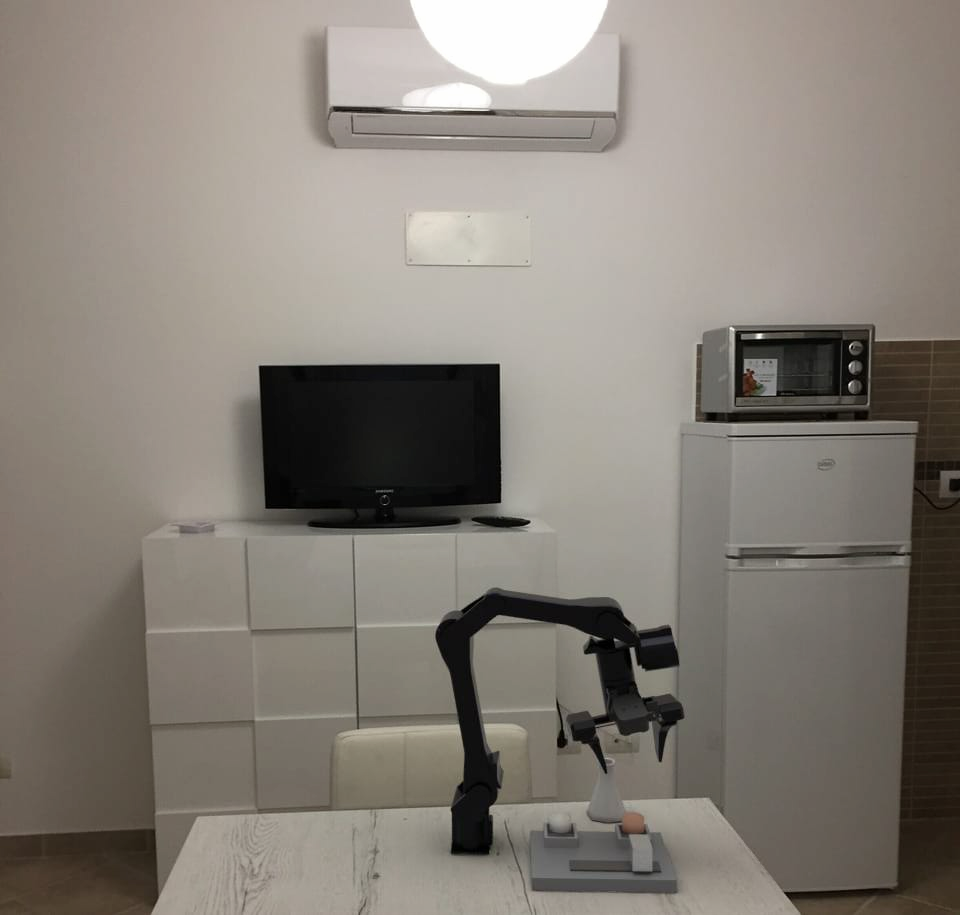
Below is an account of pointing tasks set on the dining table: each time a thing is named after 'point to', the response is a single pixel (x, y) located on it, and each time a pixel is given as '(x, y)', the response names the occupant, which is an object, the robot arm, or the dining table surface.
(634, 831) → the terracotta button
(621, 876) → the panel
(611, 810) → the flask
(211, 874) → the dining table surface
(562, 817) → the grey button
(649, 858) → the rough gray brick
